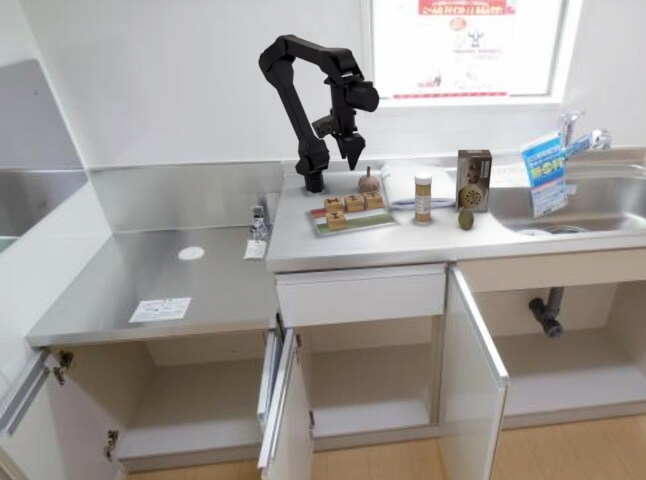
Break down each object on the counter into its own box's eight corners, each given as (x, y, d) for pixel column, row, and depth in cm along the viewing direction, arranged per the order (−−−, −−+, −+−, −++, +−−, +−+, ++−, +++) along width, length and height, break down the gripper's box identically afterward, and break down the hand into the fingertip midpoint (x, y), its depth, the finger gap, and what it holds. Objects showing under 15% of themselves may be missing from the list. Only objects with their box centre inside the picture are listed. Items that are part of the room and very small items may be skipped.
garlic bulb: (371, 184, 144) (369, 160, 139) (386, 191, 140) (385, 166, 135) (353, 191, 140) (350, 166, 135) (368, 198, 136) (366, 172, 131)
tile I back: (344, 205, 130) (343, 195, 128) (359, 203, 131) (358, 193, 129) (348, 212, 126) (347, 202, 124) (363, 209, 128) (362, 199, 126)
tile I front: (326, 223, 121) (325, 213, 119) (342, 221, 122) (341, 210, 120) (330, 231, 117) (328, 220, 115) (346, 228, 119) (345, 217, 117)
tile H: (324, 208, 128) (323, 198, 126) (340, 206, 129) (339, 196, 127) (328, 215, 125) (326, 205, 123) (343, 212, 126) (342, 202, 124)
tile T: (363, 202, 131) (363, 192, 129) (378, 200, 133) (377, 190, 131) (367, 208, 128) (367, 198, 126) (382, 206, 129) (382, 196, 127)
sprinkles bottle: (427, 217, 127) (428, 170, 118) (433, 224, 124) (434, 177, 115) (412, 219, 126) (412, 172, 117) (417, 226, 122) (418, 179, 114)
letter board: (308, 213, 127) (307, 209, 127) (381, 202, 134) (381, 199, 133) (318, 237, 117) (318, 234, 116) (397, 224, 123) (397, 220, 122)
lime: (473, 223, 124) (474, 206, 121) (473, 231, 121) (475, 214, 117) (457, 222, 124) (458, 206, 121) (457, 230, 121) (458, 213, 118)
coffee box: (484, 202, 135) (490, 149, 125) (487, 212, 130) (493, 157, 120) (454, 202, 135) (457, 148, 124) (456, 212, 130) (460, 156, 119)
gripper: (305, 98, 120) (312, 156, 129) (319, 117, 106) (326, 180, 116) (345, 95, 123) (350, 152, 133) (364, 113, 110) (367, 175, 120)
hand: (347, 164), depth 125 cm, fingers open, 9 cm apart
